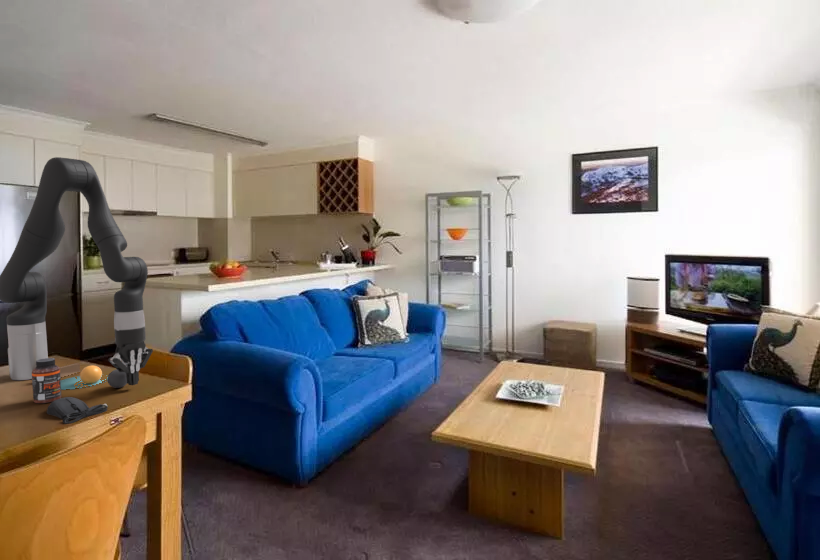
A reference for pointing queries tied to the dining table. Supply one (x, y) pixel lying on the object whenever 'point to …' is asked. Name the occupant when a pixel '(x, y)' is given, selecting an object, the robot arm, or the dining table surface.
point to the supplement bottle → (46, 381)
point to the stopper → (69, 369)
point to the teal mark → (70, 383)
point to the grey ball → (117, 379)
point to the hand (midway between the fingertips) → (132, 384)
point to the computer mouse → (73, 409)
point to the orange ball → (91, 374)
